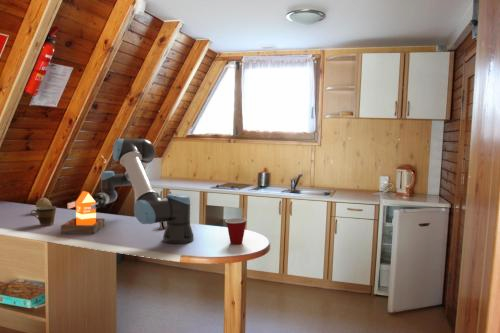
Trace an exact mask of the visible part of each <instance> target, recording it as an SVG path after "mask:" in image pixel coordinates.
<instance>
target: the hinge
mask: <svg viewBox="0 0 500 333" xmlns="http://www.w3.org/2000/svg"><path fill="white" fill-rule="evenodd" d="M158 224H159V227H160V229H161V230H162V229H166V226H167V221H165V222H158Z"/></svg>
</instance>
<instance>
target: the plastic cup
mask: <svg viewBox="0 0 500 333" xmlns="http://www.w3.org/2000/svg"><path fill="white" fill-rule="evenodd" d="M247 220H248V219H247V218H245V217H244V218H243V217H234V218H228V219H226V220H224V222H225V223H226V227H227V231H228V236H229V237H228V238H229V242H230V244H231V245H237V246H238V245H242V244H243V241H244V237H245V230H246V226H247V225H246V224H247Z"/></svg>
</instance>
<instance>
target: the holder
mask: <svg viewBox="0 0 500 333" xmlns="http://www.w3.org/2000/svg"><path fill="white" fill-rule="evenodd" d="M105 226H106V225H105V218H103V217H102V218H97V217H96V223H94V224H93V225H76V217H75V218H74V217H73V218H72V219H70V220H68V221H66V222H65V223H63V224H61V225H60V233H61V235H95V234H96V233H97V232H100V231H101V230H102V229H103V228H105Z"/></svg>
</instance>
